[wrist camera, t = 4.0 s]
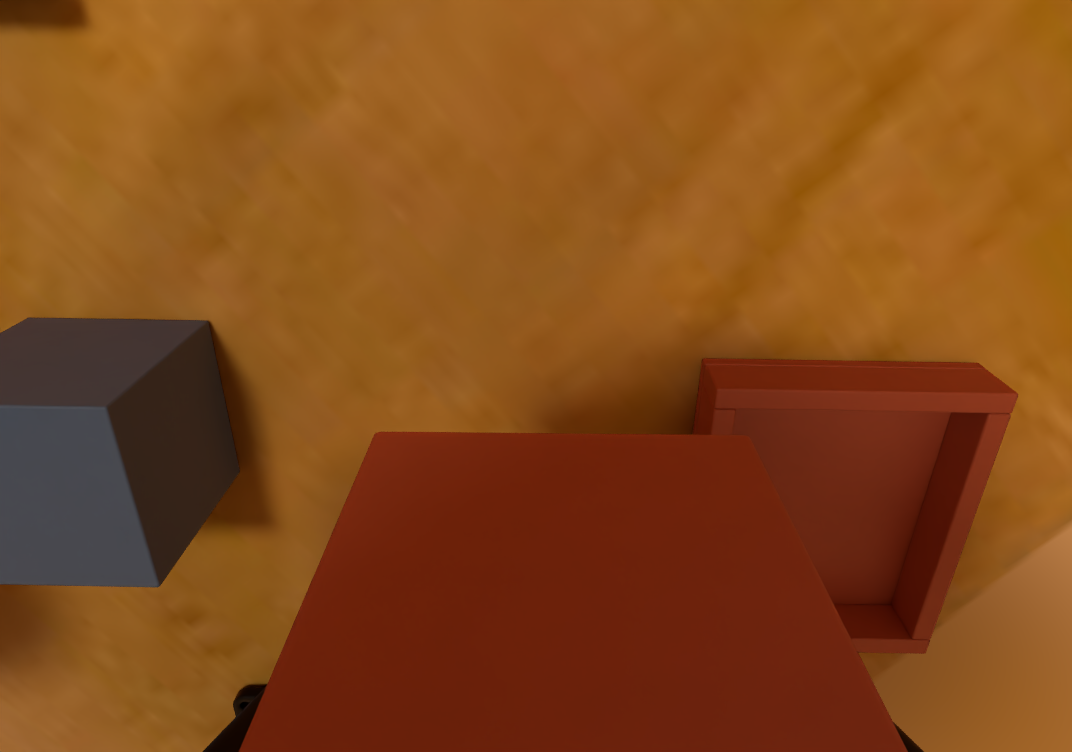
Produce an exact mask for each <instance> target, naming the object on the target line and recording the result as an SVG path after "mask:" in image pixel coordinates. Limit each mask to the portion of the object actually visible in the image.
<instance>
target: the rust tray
mask: <svg viewBox="0 0 1072 752" xmlns="http://www.w3.org/2000/svg"><path fill="white" fill-rule="evenodd" d="M1017 397H1018V393H1016V392H1015V391H1014V390H1012V389H1011V388H1010V387H1009V386H1007V385H1006V384H1005V383H1003V382H1002V381H1001V380H999V379H998V378H997V377H995V376H994V375H993V374H991V373H990V372H989V371H988V370H986V369H985V368H984V367H983V366H981V365H980V364H979V363H950V362H889V361H828V360H767V359H707V358H704V359H702V365H701V373H700V381H699V388H698V396H697V404H696V411H695V419H694V427H693V435H745V436H748V437H750V439H751V441H752V443H753V445H754V447H755V449H756V451H757V453H758V455H759V457H760V459H761V461H762V463H763V465H764V467H765V469H766V471H767V473H768V475H769V477H770V479H771V481H772V483H773V485H774V487H775V489H776V491H777V493H778V495H779V497H780V499H781V501H782V503H783V505H784V507H785V509H786V511H787V513H788V515H789V517H790V519H791V521H792V523H793V525H794V526H795V528H796V530H797V532H798V534H799V536H800V538H801V540H802V542H803V544H804V546H805V548H806V550H807V552H808V554H809V556H810V558H811V560H812V562H813V564H814V566H815V568H816V570H817V572H818V574H819V576H820V578H821V580H822V582H823V584H824V586H825V588H826V590H827V592H828V594H829V596H830V598H831V600H832V602H833V604H834V606H835V608H836V610H837V612H838V614H839V616H840V618H841V620H842V622H843V624H844V626H845V628H846V630H847V632H848V634H849V636H850V638H851V640H852V642H853V644H854V646H855V648H856V650H857V652H869V653H921V654H922V653H926V651H927V648H928V645H929V642H930V638H931V636H932V633H933V630H934V628H935V625H936V622H937V619H938V617H939V614H940V611H941V608H942V605H943V603H944V600H945V597H946V594H947V592H948V589H949V586H950V583H951V580H952V578H953V575H954V572H955V569H956V567H957V564H958V561H959V558H960V555H961V553H962V550H963V547H964V544H965V541H966V539H967V536H968V533H969V530H970V528H971V525H972V522H973V519H974V516H975V514H976V511H977V508H978V505H979V503H980V500H981V497H982V494H983V491H984V489H985V486H986V483H987V480H988V478H989V475H990V472H991V469H992V466H993V464H994V461H995V458H996V455H997V453H998V450H999V447H1000V444H1001V441H1002V439H1003V436H1004V433H1005V430H1006V427H1007V425H1008V422H1009V419H1010V414H1009V413H1012V411H1013V409H1014V406H1015V403H1016V400H1017Z"/></svg>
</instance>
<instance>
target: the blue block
mask: <svg viewBox="0 0 1072 752" xmlns="http://www.w3.org/2000/svg"><path fill="white" fill-rule="evenodd" d="M239 472H240V470H239V465H238V460H237V455H236V451H235V446H234V441H233V436H232V432H231V427H230V422H229V417H228V413H227V408H226V403H225V398H224V394H223V389H222V384H221V379H220V375H219V370H218V365H217V360H216V355H215V351H214V346H213V341H212V336H211V332H210V327H209V322H208V321H200V320H139V319H77V318H27V319H25V320H23V321H22V322H20V323H18V324H16V325H14V326H12V327H11V328H9V329H7V330H5V331H3V332H2V333H0V584H8V585H63V586H117V587H159V586H160V585H161V584H162V582H163V581H164V580H165V578H166V577H167V575H168V574H169V572H170V571H171V570H172V568H173V567H174V565H175V564H176V562H177V561H178V560H179V558H180V557H181V555H182V554H183V552H184V551H185V550H186V548H187V547H188V545H189V544H190V542H191V541H192V539H193V538H194V537H195V535H196V534H197V532H198V531H199V529H200V528H201V527H202V525H203V524H204V522H205V521H206V519H207V518H208V517H209V515H210V514H211V512H212V511H213V509H214V508H215V507H216V505H217V504H218V502H219V501H220V499H221V498H222V497H223V495H224V494H225V492H226V491H227V489H228V488H229V487H230V485H231V484H232V482H233V481H234V479H235V478H236V477H237V475H238V474H239Z"/></svg>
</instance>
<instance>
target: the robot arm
mask: <svg viewBox="0 0 1072 752" xmlns="http://www.w3.org/2000/svg"><path fill="white" fill-rule="evenodd" d="M266 687H267V686H266ZM266 687H265V688H252V687H248V688H243V689H241V690H240V691H239V692H238V694H237V696H236V698H235V700H234V702H233V707H234V711H235V715H236V718H235V719H234V720H233V721H232V722H231V723H230V724H229V725H228V726H227V727H226V728H225V729H224V730H223V731H222V732H221V733H220V734H219V735H218V736H217V737H216V738H215V739H214V740H213V741H212V742H211V743H210V745H209V746H208V747H207V748H206V749H205V750H204V751H203V752H239V750H240V748H241V745H242V743H243V741H244V738H245V736H246V734H247V731H248V729H249V726H250V724H251V722H252V719H253V717H254V715H255V712H256V710H257V708H258V705H259V703H260V701H261V698H262V696H263V694H264V691H265V689H266ZM893 723H894V722H893ZM894 725H895V727H896V729H897V731H898V733H899V735H900V737H901V739H902V741H903V743H904V745H905V747H906V749H907V751H908V752H924V751H923V750H922V749H920V747H918V746H917V745H916V744H915V743H914V742H913V741H912V740H911V739H910V738H909V737H908V736H907V735H906V734H905V733H904V732H903V731H902V730H901V729H900V728H899V727H898V726H897V725H896V724H895V723H894Z"/></svg>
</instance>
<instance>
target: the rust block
mask: <svg viewBox="0 0 1072 752" xmlns="http://www.w3.org/2000/svg"><path fill="white" fill-rule="evenodd" d="M239 752H908V751H907V749H906V747H905V745H904V743H903V741H902V739H901V737H900V735H899V733H898V731H897V729H896V727H895V725H894V723H893V721H892V719H891V718H890V715H889V714H888V712H887V710H886V707H885V706H884V703H883V702H882V700H881V698H880V696H879V694H878V692H877V690H876V688H875V686H874V684H873V682H872V680H871V678H870V676H869V674H868V672H867V670H866V668H865V666H864V664H863V662H862V660H861V658H860V656H859V654H858V652H857V650H856V648H855V646H854V644H853V642H852V640H851V638H850V636H849V634H848V632H847V630H846V628H845V626H844V624H843V622H842V620H841V618H840V616H839V614H838V612H837V610H836V608H835V606H834V604H833V602H832V600H831V598H830V596H829V594H828V592H827V590H826V588H825V586H824V584H823V582H822V580H821V578H820V576H819V574H818V572H817V570H816V568H815V566H814V564H813V562H812V560H811V558H810V556H809V554H808V552H807V550H806V548H805V546H804V544H803V542H802V540H801V538H800V536H799V534H798V532H797V530H796V528H795V526H794V525H793V523H792V521H791V519H790V517H789V515H788V513H787V511H786V509H785V507H784V505H783V503H782V501H781V499H780V497H779V495H778V493H777V491H776V489H775V487H774V485H773V483H772V481H771V479H770V477H769V475H768V473H767V471H766V469H765V467H764V465H763V463H762V461H761V459H760V457H759V455H758V453H757V451H756V449H755V447H754V445H753V443H752V441H751V439H750V437H748V436H745V435H675V434H565V433H455V432H378V433H376V434H374V437H373V439H372V441H371V444H370V446H369V448H368V451H367V453H366V455H365V458H364V460H363V462H362V465H361V467H360V469H359V472H358V474H357V476H356V479H355V481H354V483H353V486H352V488H351V490H350V493H349V495H348V497H347V500H346V502H345V504H344V507H343V509H342V511H341V514H340V516H339V518H338V521H337V523H336V525H335V528H334V530H333V533H332V535H331V537H330V540H329V542H328V544H327V547H326V549H325V551H324V554H323V556H322V558H321V561H320V563H319V565H318V568H317V570H316V572H315V575H314V577H313V579H312V582H311V584H310V586H309V589H308V591H307V593H306V596H305V598H304V600H303V603H302V605H301V607H300V610H299V612H298V614H297V617H296V619H295V621H294V624H293V626H292V628H291V631H290V633H289V635H288V638H287V640H286V642H285V645H284V647H283V649H282V652H281V654H280V656H279V659H278V661H277V663H276V666H275V668H274V670H273V673H272V675H271V677H270V680H269V682H268V684H267V687H266V689H265V691H264V694H263V696H262V698H261V701H260V703H259V705H258V708H257V710H256V712H255V715H254V717H253V719H252V722H251V724H250V726H249V729H248V731H247V734H246V736H245V738H244V741H243V743H242V745H241V748H240V750H239Z"/></svg>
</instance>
